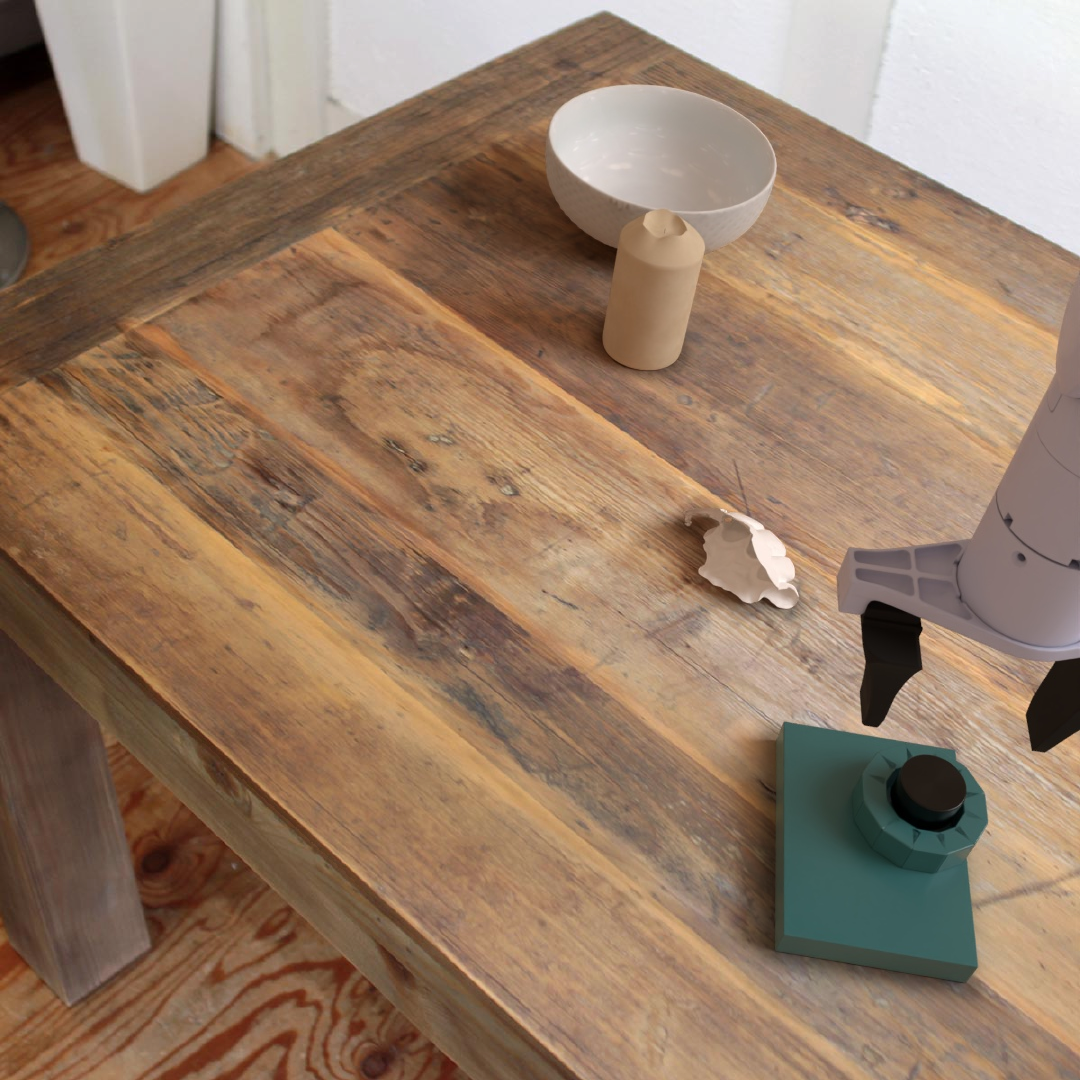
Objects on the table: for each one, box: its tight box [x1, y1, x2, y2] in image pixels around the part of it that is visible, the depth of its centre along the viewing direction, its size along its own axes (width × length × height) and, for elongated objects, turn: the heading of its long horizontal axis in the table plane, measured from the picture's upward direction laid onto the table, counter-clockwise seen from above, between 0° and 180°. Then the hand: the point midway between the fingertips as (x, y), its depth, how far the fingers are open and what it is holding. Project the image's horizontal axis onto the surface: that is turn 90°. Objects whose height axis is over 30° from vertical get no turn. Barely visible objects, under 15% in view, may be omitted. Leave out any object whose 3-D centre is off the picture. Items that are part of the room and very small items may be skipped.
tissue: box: [681, 507, 800, 610], centre depth 77 cm, size 6×8×4 cm
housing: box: [774, 721, 989, 984], centre depth 65 cm, size 12×10×4 cm
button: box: [890, 754, 967, 830], centre depth 64 cm, size 3×3×2 cm
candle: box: [602, 209, 705, 371], centre depth 88 cm, size 6×6×10 cm
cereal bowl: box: [544, 83, 778, 255], centre depth 99 cm, size 17×17×7 cm
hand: (952, 721), depth 60 cm, fingers open, 7 cm apart
